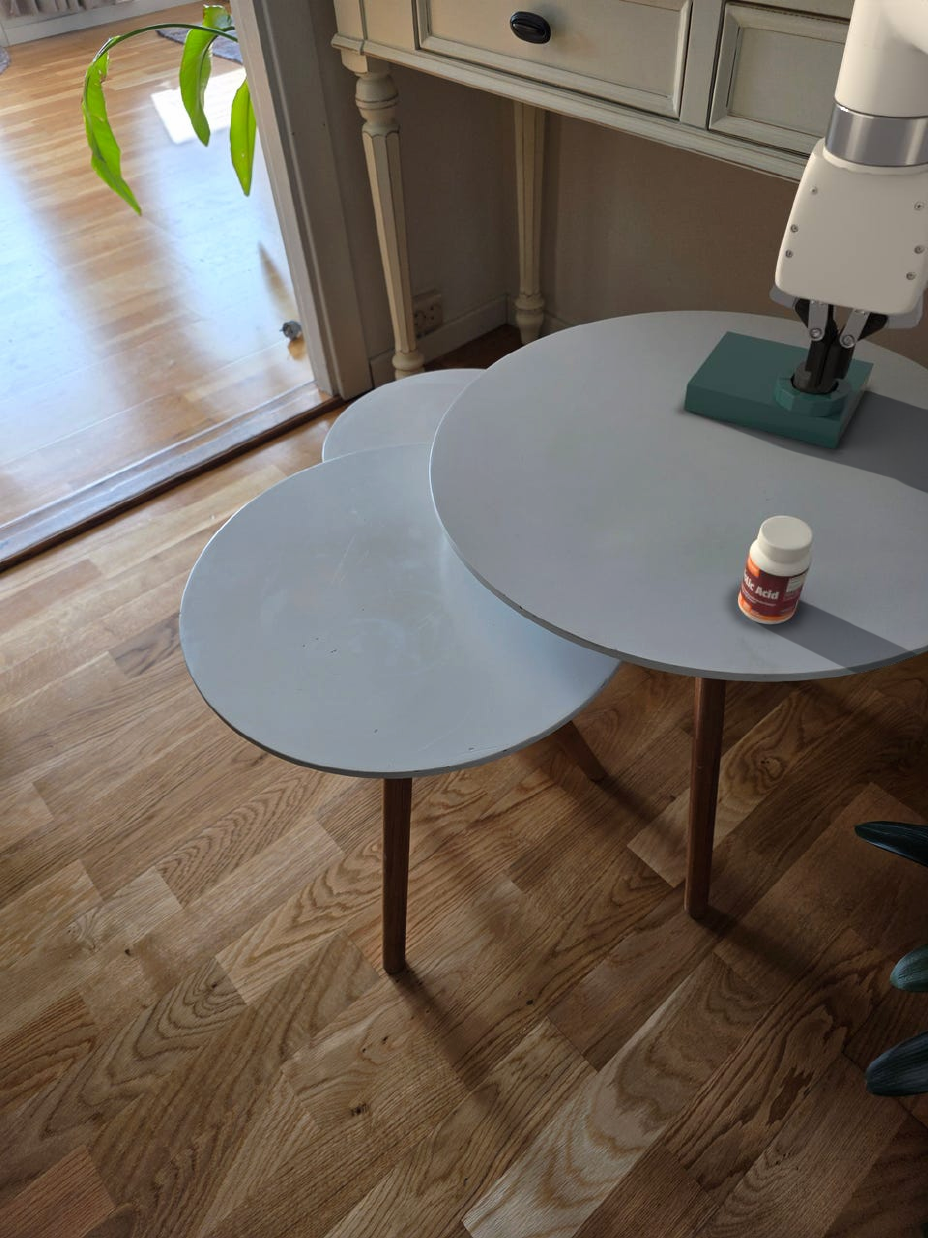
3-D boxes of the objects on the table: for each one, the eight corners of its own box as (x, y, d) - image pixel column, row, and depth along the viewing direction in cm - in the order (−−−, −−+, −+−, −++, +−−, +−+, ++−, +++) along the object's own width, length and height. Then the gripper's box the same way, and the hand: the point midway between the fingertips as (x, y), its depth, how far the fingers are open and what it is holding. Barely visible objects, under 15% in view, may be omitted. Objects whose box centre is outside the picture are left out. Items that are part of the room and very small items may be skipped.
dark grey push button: (839, 380, 88) (843, 364, 87) (827, 400, 86) (832, 384, 84) (799, 370, 89) (803, 355, 88) (787, 390, 87) (791, 375, 86)
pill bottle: (725, 603, 74) (742, 530, 68) (762, 577, 76) (781, 503, 70) (770, 635, 72) (791, 561, 66) (807, 607, 74) (831, 533, 67)
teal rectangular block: (865, 389, 94) (878, 347, 91) (833, 451, 87) (845, 409, 84) (722, 356, 101) (729, 315, 97) (681, 412, 94) (687, 370, 90)
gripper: (1028, 124, 55) (934, 381, 68) (792, 99, 61) (748, 339, 74) (1005, 167, 51) (910, 431, 64) (754, 135, 57) (715, 382, 70)
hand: (823, 381), depth 69 cm, fingers closed
